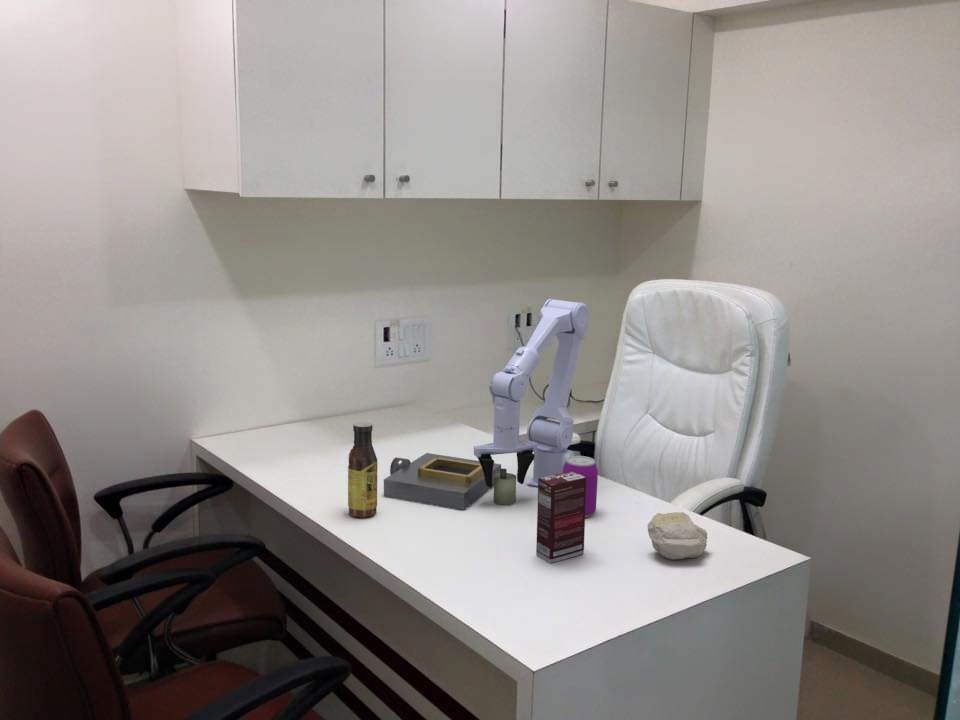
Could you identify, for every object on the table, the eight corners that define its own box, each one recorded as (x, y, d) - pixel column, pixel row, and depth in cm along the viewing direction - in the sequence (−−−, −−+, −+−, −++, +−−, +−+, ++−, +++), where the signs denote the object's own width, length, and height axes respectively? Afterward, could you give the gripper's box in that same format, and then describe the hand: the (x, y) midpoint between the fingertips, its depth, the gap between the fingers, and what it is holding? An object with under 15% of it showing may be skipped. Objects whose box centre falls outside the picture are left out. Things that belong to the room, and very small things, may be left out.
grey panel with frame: (500, 480, 210) (501, 458, 209) (464, 510, 190) (464, 486, 189) (415, 466, 219) (415, 445, 217) (372, 494, 199) (372, 471, 198)
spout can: (518, 499, 197) (519, 466, 196) (510, 507, 193) (511, 472, 191) (498, 496, 199) (499, 463, 198) (490, 503, 195) (490, 469, 193)
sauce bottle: (371, 520, 183) (371, 429, 179) (343, 517, 185) (342, 427, 181) (381, 509, 190) (381, 421, 186) (354, 506, 191) (353, 419, 187)
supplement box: (568, 545, 173) (572, 469, 170) (584, 554, 169) (588, 476, 166) (534, 555, 168) (536, 477, 165) (549, 564, 164) (552, 484, 161)
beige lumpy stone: (717, 557, 170) (675, 545, 177) (719, 515, 169) (677, 504, 176) (680, 569, 162) (638, 556, 169) (682, 525, 161) (639, 514, 168)
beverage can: (598, 508, 193) (600, 456, 191) (593, 520, 186) (595, 467, 183) (564, 504, 195) (566, 453, 193) (557, 516, 188) (560, 463, 185)
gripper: (529, 419, 198) (527, 475, 201) (469, 423, 194) (468, 481, 196) (542, 427, 192) (539, 485, 195) (480, 431, 187) (478, 491, 190)
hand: (504, 484), depth 195 cm, fingers open, 7 cm apart
